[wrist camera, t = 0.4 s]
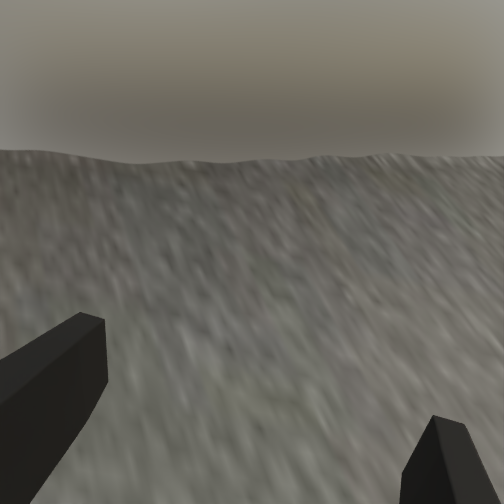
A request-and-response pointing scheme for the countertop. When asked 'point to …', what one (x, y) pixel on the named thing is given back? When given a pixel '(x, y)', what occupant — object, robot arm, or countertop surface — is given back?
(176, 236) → the countertop surface
